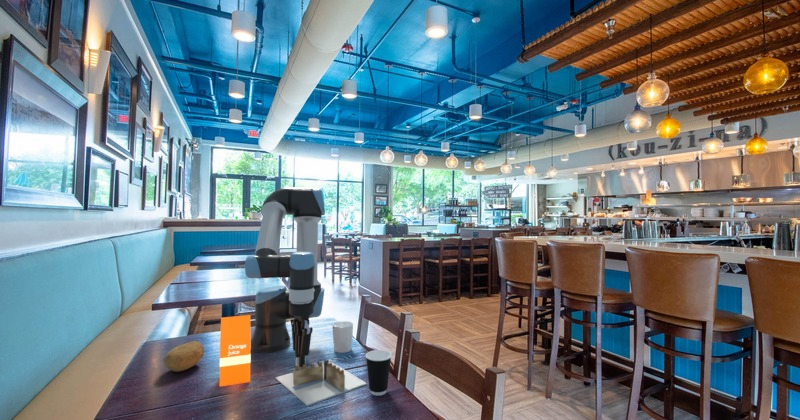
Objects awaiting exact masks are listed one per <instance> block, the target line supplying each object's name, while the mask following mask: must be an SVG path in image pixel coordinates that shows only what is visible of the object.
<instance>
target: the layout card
mask: <svg viewBox="0 0 800 420" xmlns="http://www.w3.org/2000/svg"><path fill="white" fill-rule="evenodd" d="M330 362H331V363H332V365H336V368H337V367H339V368H340V370H342V369H343V370H344V375H345V389H344V390H340V389H338V388H337V387H336V386H334V385H333V384H331V383H330V382H328V381H327V380H326V379H324V363H322V365H323V379H320V380H315V381H310V382H305V383H300V384H296V385H294V384H293V372H290V373H287V374H283V375H280V376H276V377H275V380H277V381H278V382H279V383H280V384H282V385H283V386H284V387H285V388H286V389H287V390H288V391H289V392H290V393H292V394H293V395H294V396H295V397H296V398H298V400H300V401H301V402H302V403H303V404H304V405H306V406H307V407H309V406H311V405H315V404H317V403H319V402H322V401H325V400H328V399H330V398H333V397H336V396H339V395H341V394H344V393H348V392H350V391H352V390H356V389H358V388H361V387H363V386H367V382H365V381H364V380H362V379H361V378H359V377H357V376H356V375H354V374H352V373H351V372H349V371H347V370H345V369H344V368H342V367H341V366H339V365H338V364H335V363H334V362H332V361H329V363H330ZM316 366H318V364H317V365H316Z"/></svg>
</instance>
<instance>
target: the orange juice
mask: <svg viewBox="0 0 800 420" xmlns="http://www.w3.org/2000/svg"><path fill="white" fill-rule="evenodd" d="M251 339H252V334H251V314H248V315H235V316H226V317H225V316H224V317H221V318H220V338H219V387H227V386H231V385H239V384H243V383H244V384H245V383H250V382H251V363H252V361H251V356H252V354H251V351H252V350H251Z"/></svg>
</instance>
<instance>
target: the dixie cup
mask: <svg viewBox="0 0 800 420" xmlns="http://www.w3.org/2000/svg"><path fill="white" fill-rule="evenodd" d="M364 356H365V359H366V369H367V377H368V378H367V379H368V388H369V391H370V394H371V395H373V396H383V395H386V394H387V390H388V386H389V385H388V384H389V376H390V368H391V360H392V356H393V355H392V353H391V352H390V351H388V350H384V349H375V350H374V349H373V350H370V351H367V352H366V354H365V355H364Z"/></svg>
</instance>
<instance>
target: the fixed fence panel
mask: <svg viewBox="0 0 800 420" xmlns="http://www.w3.org/2000/svg"><path fill="white" fill-rule="evenodd" d="M329 362H330V363H329ZM331 362H332V361H329V360H328V359H325V360H323V364H324V379H326V380H327V381H328V382H330V383H331V384H333V385H334V386H336V387H337V388H338V389H340V390H344V389H345V375H344V370H345V369H344V368H342V370H340V368H339V367H340V366H339V367H337V368H336V365H337V364H336V365H332V363H333V362H332V363H331ZM343 369H344V370H343Z"/></svg>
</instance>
